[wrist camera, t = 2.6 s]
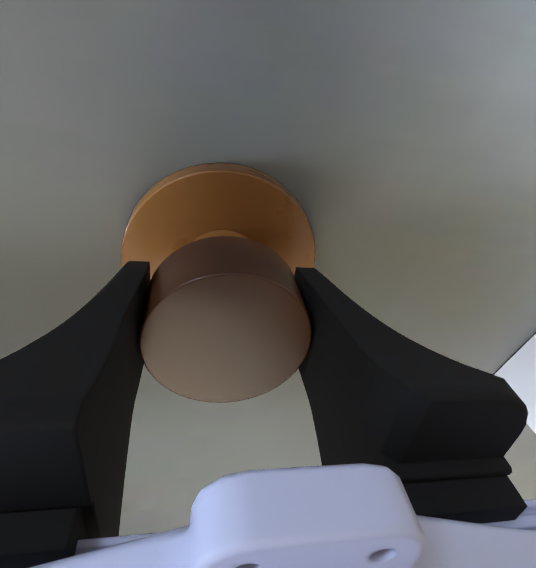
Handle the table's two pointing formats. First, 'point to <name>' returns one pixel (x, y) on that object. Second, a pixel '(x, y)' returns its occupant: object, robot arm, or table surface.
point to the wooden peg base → (217, 215)
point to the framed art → (523, 377)
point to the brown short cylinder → (223, 321)
